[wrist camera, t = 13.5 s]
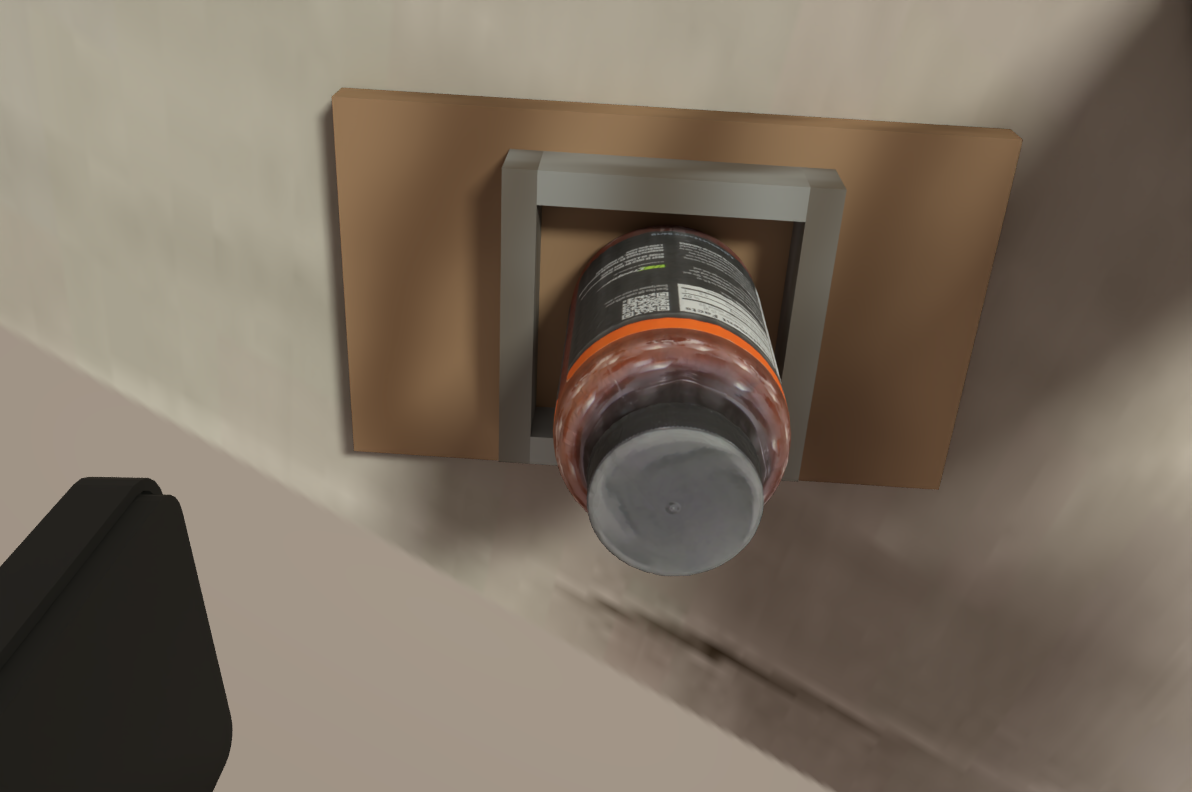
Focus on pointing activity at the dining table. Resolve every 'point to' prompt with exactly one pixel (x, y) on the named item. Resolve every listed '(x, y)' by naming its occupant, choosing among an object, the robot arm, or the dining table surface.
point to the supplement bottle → (670, 401)
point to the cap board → (652, 198)
